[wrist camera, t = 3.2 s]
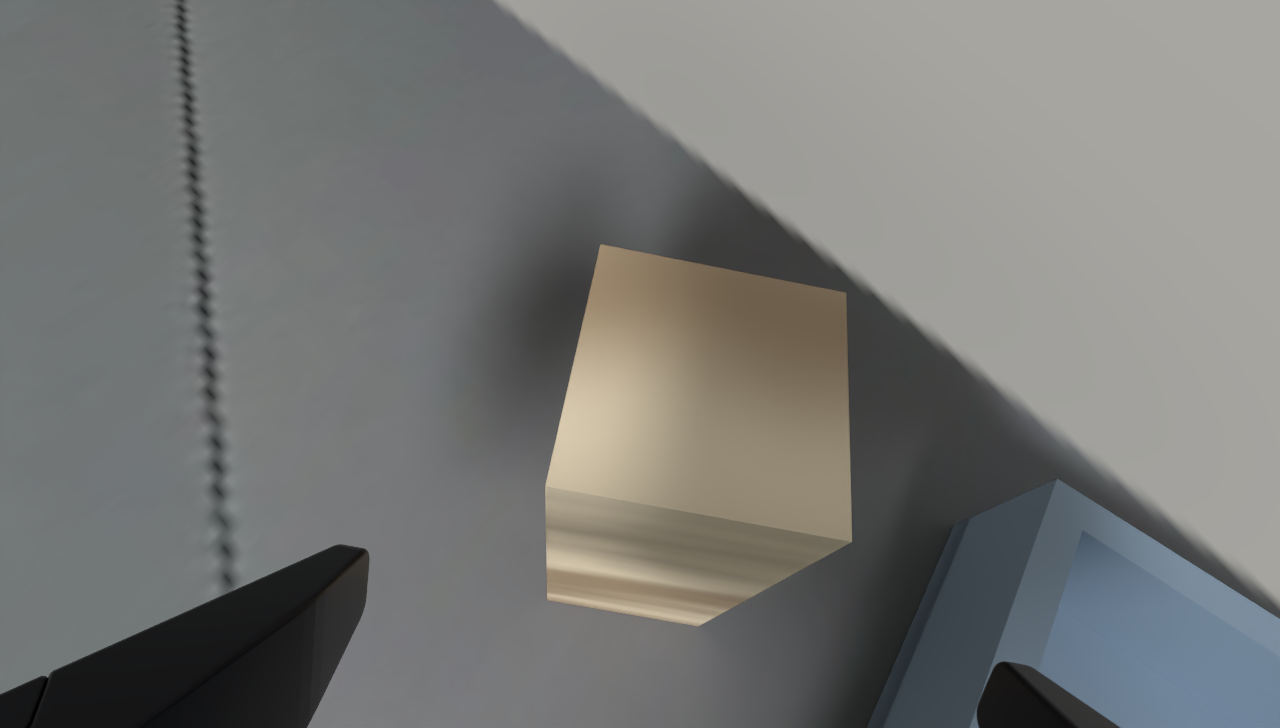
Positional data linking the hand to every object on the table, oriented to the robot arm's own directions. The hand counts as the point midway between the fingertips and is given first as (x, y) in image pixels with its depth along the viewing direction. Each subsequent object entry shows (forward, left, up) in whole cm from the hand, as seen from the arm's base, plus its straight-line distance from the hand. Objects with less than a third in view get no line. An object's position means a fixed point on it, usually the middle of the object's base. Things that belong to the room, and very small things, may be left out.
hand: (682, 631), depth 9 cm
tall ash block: (+3, -2, -11) cm, 11 cm away
